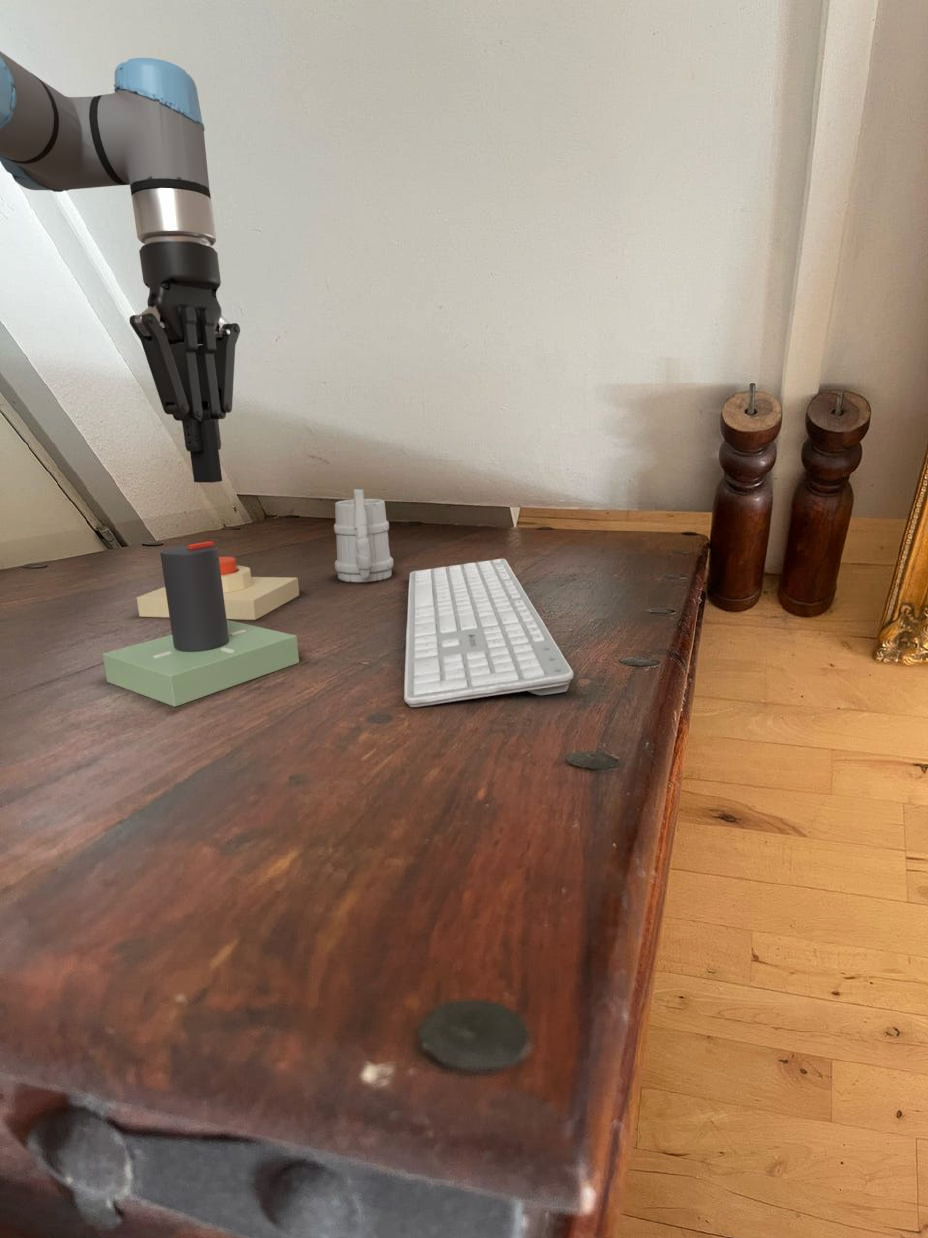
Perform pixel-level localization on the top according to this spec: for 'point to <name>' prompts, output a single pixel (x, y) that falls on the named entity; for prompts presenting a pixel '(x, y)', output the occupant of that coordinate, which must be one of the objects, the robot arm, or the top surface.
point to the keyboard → (476, 637)
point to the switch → (227, 565)
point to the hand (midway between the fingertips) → (208, 481)
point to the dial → (195, 596)
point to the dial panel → (199, 664)
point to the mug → (362, 539)
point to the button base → (234, 596)
